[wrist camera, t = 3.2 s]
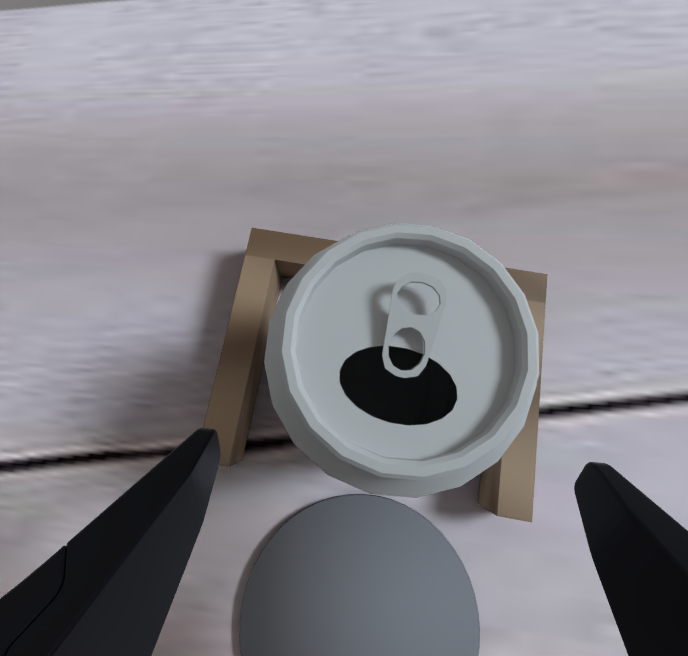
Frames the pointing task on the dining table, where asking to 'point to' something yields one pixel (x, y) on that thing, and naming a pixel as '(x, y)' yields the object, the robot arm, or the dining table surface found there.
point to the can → (402, 360)
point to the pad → (359, 586)
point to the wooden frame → (249, 353)
